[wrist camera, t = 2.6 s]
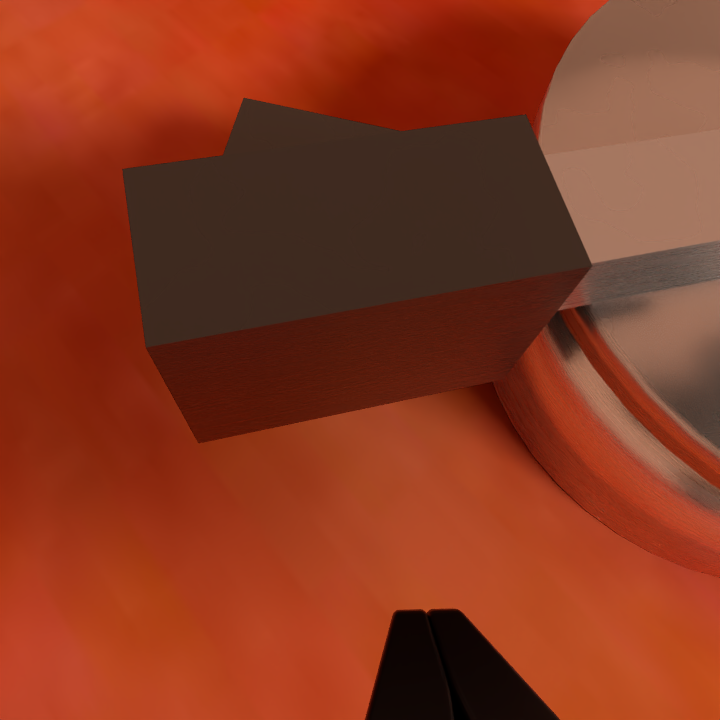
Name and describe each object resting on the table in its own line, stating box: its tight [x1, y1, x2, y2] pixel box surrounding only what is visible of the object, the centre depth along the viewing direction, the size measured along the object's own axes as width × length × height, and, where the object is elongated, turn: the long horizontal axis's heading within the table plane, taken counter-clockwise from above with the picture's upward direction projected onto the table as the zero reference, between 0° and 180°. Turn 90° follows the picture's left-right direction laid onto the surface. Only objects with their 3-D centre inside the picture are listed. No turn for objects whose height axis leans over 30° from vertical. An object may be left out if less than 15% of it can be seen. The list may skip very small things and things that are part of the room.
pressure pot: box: [223, 98, 720, 577], centre depth 19 cm, size 26×16×6 cm, turn 79°
